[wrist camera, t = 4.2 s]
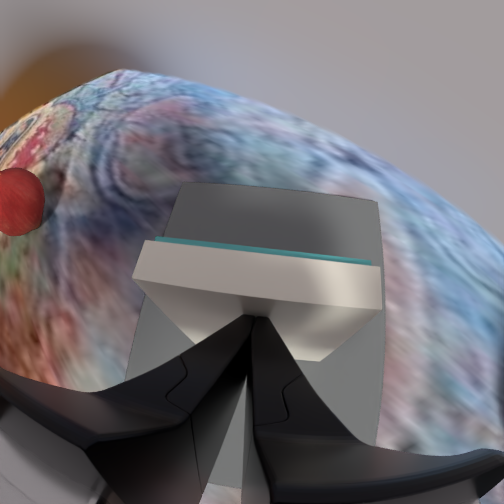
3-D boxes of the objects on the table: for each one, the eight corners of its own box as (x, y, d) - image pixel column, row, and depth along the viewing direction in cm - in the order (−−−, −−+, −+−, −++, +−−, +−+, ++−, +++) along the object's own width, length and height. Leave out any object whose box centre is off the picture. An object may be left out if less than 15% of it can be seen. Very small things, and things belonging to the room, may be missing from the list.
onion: (11, 252, 20) (-40, 205, 12) (30, 203, 22) (-11, 153, 15) (47, 251, 19) (-10, 196, 12) (67, 197, 22) (25, 137, 15)
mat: (363, 489, 11) (365, 491, 11) (116, 451, 12) (113, 452, 12) (375, 205, 20) (377, 201, 20) (184, 185, 22) (182, 181, 21)
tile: (319, 361, 15) (382, 309, 7) (196, 345, 15) (131, 277, 8) (321, 334, 15) (379, 257, 8) (202, 319, 16) (148, 232, 8)
